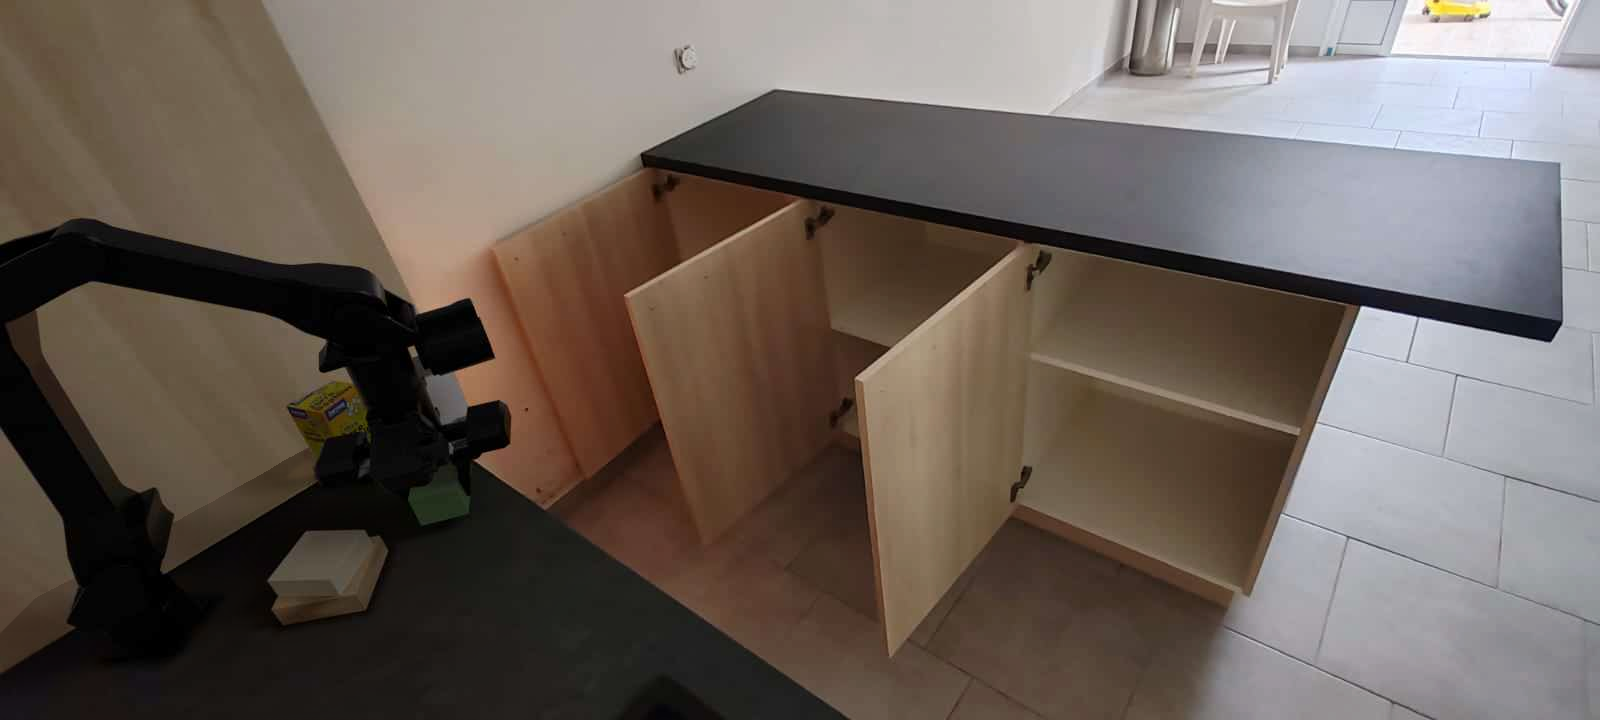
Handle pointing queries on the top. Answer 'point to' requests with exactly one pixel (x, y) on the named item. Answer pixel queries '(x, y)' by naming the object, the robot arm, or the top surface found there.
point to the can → (444, 395)
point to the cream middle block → (321, 563)
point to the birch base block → (328, 606)
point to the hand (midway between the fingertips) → (444, 499)
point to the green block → (440, 497)
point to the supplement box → (329, 414)
